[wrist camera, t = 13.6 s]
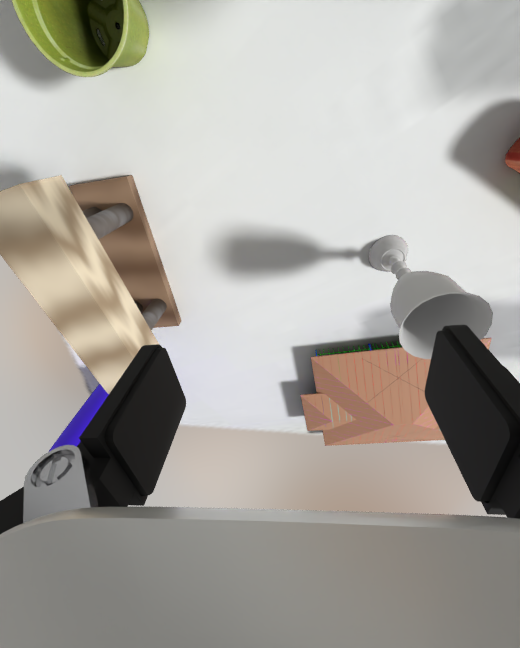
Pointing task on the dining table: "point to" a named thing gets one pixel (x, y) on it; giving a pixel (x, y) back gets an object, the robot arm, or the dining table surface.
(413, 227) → the dining table surface
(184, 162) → the dining table surface
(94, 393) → the bottle
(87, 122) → the dining table surface
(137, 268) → the peg stand
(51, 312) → the shelf board
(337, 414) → the house
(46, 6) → the plant pot
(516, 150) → the snack package
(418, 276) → the chalice
